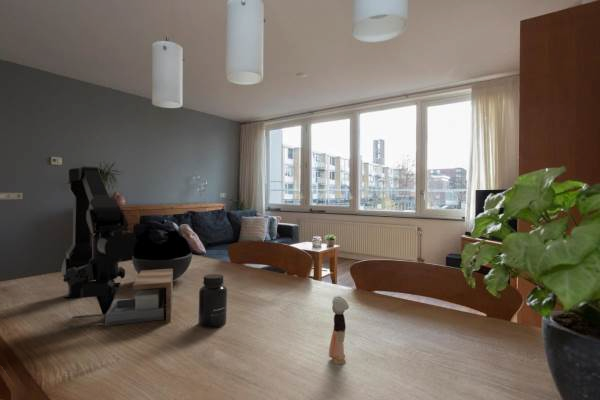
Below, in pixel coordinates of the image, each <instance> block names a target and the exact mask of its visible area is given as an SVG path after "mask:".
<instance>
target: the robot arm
mask: <svg viewBox="0 0 600 400" xmlns="http://www.w3.org/2000/svg"><path fill="white" fill-rule="evenodd" d="M64 173H65V174H64V181H65V184H66V185H67V187H66V188H67V189H68V191H69V192H70V194H71V195H72V197H73V201H72V203H73V205H72V206H73V209H72V244H71V245H70V246H69V247H68V249H67V250H66V251H65V258H64V259H63V262H62V265H61V277H62V278H63V281H62V282H64V283H67V285H68V290H67V291H68V292H67V293H66V294H65V295H64V297H63V298H64V299H69V298H83V299H84V298H85V299H86V298H94V297H95V298H96V299H97V302H98V305H99V308H100V311H101V314H106V313H107V311H108V310H109V308H110V307H111V305H112V304H113V302H114V300H115V298H116V296H117V293H118V291H119V288H120V286H121V282H115V280H116V279H117V278H119V277H120V280H121V279H124V278H125V277H126V269H125V268H123V266H119V261H120V260H122V259H124V258H125V257H127V256H128V255H129V254H130V252H131V250H132V243H131V240H130V239H129V238H128V237H127V236H125V235H123V232H128V230H129V229H128V228H129V222H128V220H127V217H126V215H125V212H124V211H123V210H124V209H123V208H121V206H120V204H119V202H118V201H117V200H116V199H114V198H113V197H110V195H109V193H108V190H107V188H106V184H105V182H104V179H103V177H102V176H103V175H102V169H101V167H97V166H87V165H86V166H85V165H84V166H83V165H82V166H79V167H70V169H67V170H66V171H65V172H64ZM91 234H92V235H91Z"/></svg>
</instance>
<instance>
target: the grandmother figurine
mask: <svg viewBox="0 0 600 400" xmlns="http://www.w3.org/2000/svg"><path fill="white" fill-rule="evenodd" d="M349 308H350V305H349V303H348V302H347V300H346V299H345V298H344V297H342V296H341V295H335V296H334V297H333V299H332V312H333V313H334V317H333V330H332V333H331V334H332V335H331V338H330V343H329V349H328V357H329V358H332V359H331V363H332V364H333V363H334V364H333V365H344V363H345V364H346V363H347V361H346V358H345V357H346V355H345V347H344V346H345V345H344V341H345V337H346V336H345V335H346V319H345V314H344V313H345V311H348V310H349Z"/></svg>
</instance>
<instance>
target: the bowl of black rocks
mask: <svg viewBox="0 0 600 400" xmlns="http://www.w3.org/2000/svg"><path fill="white" fill-rule="evenodd" d="M150 233H151V232H150V230H148V229H147V230H146V229H145V230H144V231H143V232H142V233H141V234H138V236H136V238H135V239H136V240H137V241H136V242H135V244H134V248H133V251H132V252H133V256H132V257H131V261H132V264H133V268H134V270H135V271H136V272H137V274H138V275H139V273H140V272H141V271H144V270H160V269H173V281H175V280H177V279H179V278H180V277H182V275H184V273H186V272H187V270H188V269H189V266H190V265H191V262H192V258H193V253H192V251H191V248H190V246H189V245H188V244H189V243H188V242H187V239H186V237H184V236H182V235H181V234H180V232H179V231H178V230H171V231H167V232H166V233H163V236H165V237H168V238H166V240H165V241H162V243H158V242H155V241H152V239H151V238H150V237H149V235H150Z"/></svg>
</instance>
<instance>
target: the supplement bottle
mask: <svg viewBox="0 0 600 400" xmlns="http://www.w3.org/2000/svg"><path fill="white" fill-rule="evenodd" d="M223 284H224V275H223V274H221V273H212V274H206V275H203V281H202V285H203V286H201V287H200V289H199V290H198V291H199V292H198V325H199V326H200V327H201V328H205V329H216V328H220V327H222V326H224V325H225V324H226V322H227V316H228V315H227V314H228V313H227V312H228V308H227V307H228V289H227V287H226V286H225V285H223Z"/></svg>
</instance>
